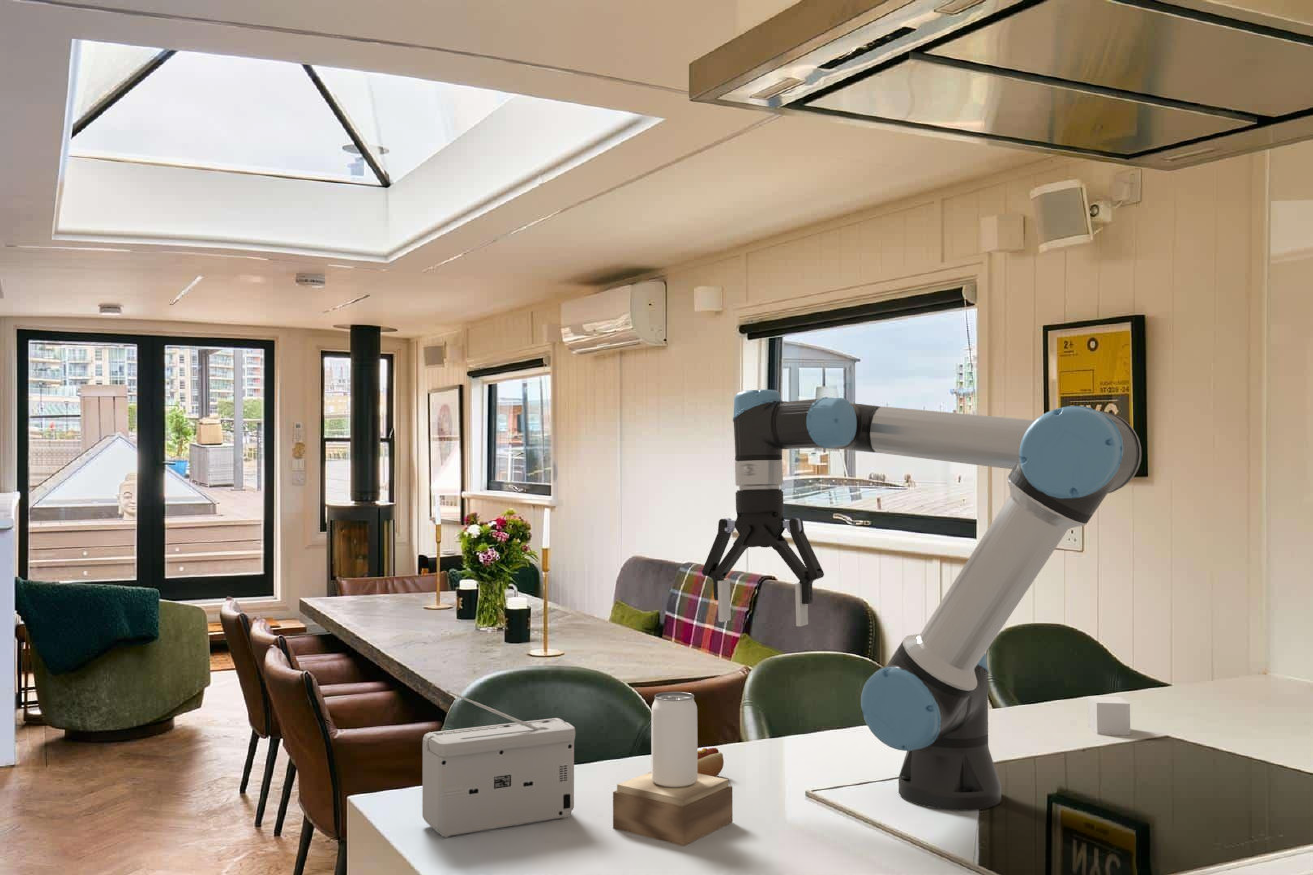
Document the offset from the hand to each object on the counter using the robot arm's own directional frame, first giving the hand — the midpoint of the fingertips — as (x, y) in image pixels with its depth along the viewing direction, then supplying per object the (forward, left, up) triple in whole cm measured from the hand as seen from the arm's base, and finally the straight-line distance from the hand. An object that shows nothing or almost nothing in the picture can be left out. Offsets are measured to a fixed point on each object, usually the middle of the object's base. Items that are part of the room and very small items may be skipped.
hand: (762, 623), depth 167 cm
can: (+1, +22, -20) cm, 30 cm away
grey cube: (-34, -72, -26) cm, 83 cm away
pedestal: (+1, +22, -26) cm, 34 cm away
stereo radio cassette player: (+22, +36, -26) cm, 49 cm away
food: (+11, +4, -26) cm, 29 cm away
